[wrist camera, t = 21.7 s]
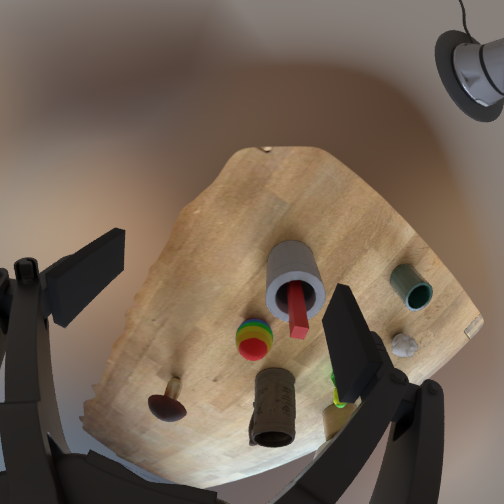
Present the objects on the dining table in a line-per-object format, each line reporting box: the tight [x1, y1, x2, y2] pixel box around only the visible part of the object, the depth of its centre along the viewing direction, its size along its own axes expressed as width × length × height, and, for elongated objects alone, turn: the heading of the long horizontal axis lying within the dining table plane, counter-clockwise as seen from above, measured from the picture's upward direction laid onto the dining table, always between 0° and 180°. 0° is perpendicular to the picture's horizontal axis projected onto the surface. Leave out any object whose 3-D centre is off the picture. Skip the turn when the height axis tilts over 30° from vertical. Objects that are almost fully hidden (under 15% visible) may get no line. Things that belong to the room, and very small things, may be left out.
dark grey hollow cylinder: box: [249, 368, 296, 448], centre depth 60 cm, size 15×11×20 cm
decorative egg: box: [236, 318, 273, 361], centre depth 57 cm, size 8×8×10 cm
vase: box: [266, 240, 326, 322], centre depth 48 cm, size 9×9×14 cm
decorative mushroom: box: [148, 378, 187, 422], centre depth 64 cm, size 11×11×15 cm
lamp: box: [314, 403, 357, 458], centre depth 61 cm, size 15×14×25 cm
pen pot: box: [390, 264, 433, 311], centre depth 50 cm, size 7×7×9 cm
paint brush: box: [286, 280, 309, 340], centre depth 44 cm, size 3×3×22 cm
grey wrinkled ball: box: [392, 333, 418, 357], centre depth 57 cm, size 6×7×7 cm
